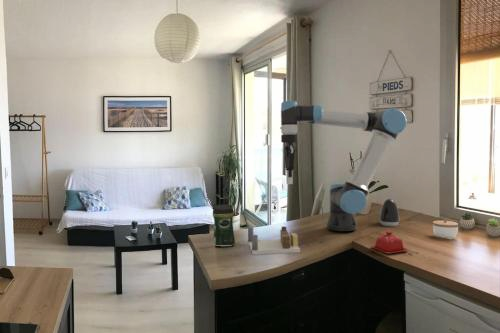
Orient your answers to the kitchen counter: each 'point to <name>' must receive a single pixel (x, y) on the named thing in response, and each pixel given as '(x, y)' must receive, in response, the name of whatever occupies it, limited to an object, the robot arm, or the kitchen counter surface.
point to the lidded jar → (445, 229)
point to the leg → (285, 238)
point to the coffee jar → (223, 225)
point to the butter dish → (389, 243)
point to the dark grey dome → (389, 213)
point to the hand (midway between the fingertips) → (289, 183)
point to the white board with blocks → (271, 244)
